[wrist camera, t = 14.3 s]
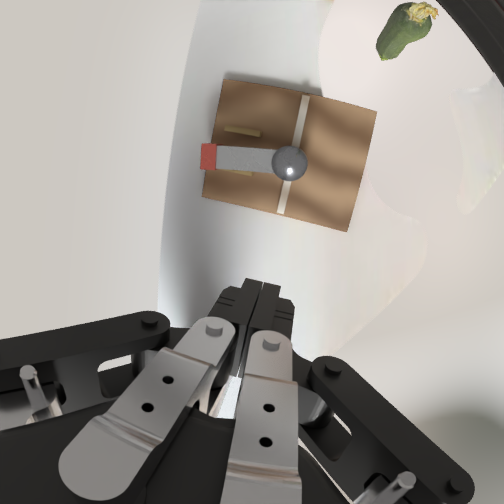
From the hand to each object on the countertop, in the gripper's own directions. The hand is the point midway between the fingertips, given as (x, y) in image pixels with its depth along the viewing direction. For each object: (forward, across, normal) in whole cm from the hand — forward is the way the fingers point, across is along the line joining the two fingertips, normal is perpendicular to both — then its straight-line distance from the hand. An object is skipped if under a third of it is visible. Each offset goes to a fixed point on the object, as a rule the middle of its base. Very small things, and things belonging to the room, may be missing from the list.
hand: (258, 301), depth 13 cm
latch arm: (+31, +6, -4) cm, 32 cm away
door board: (+34, +2, -5) cm, 35 cm away
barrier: (+34, -28, -34) cm, 56 cm away
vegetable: (+34, -9, -24) cm, 43 cm away
